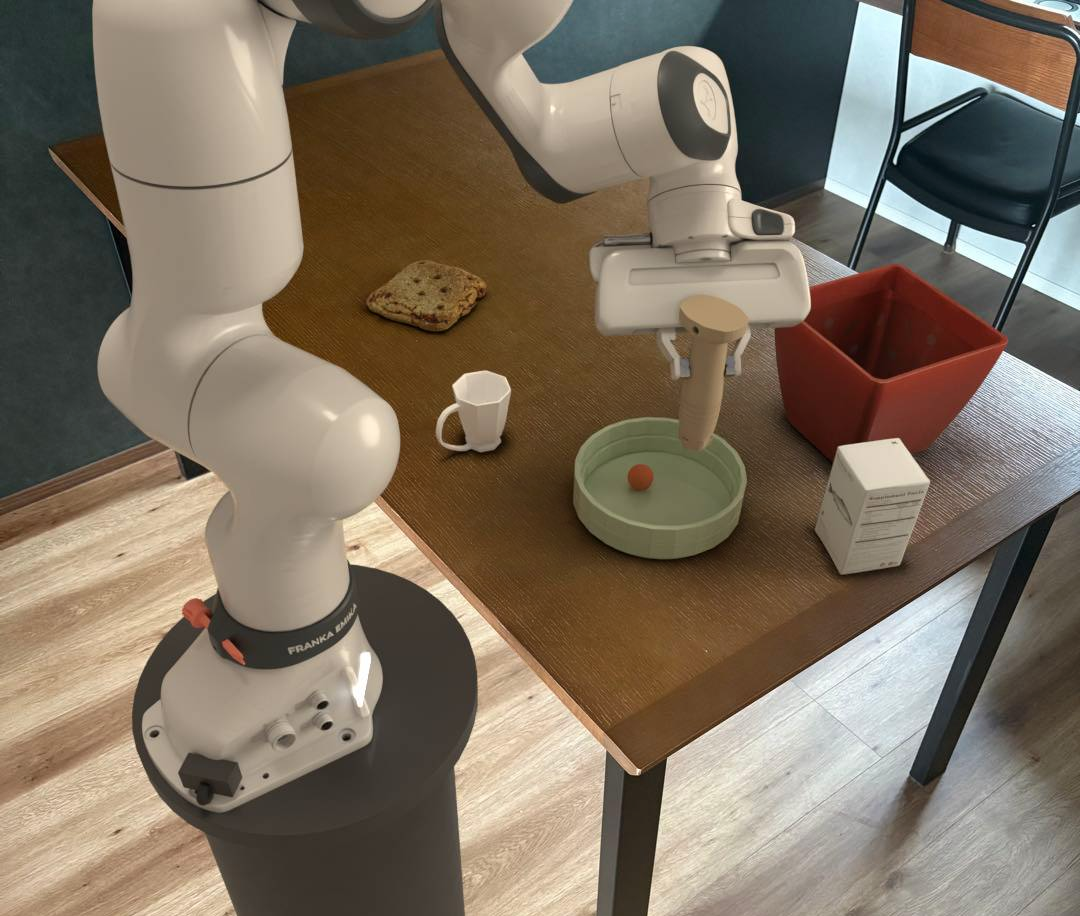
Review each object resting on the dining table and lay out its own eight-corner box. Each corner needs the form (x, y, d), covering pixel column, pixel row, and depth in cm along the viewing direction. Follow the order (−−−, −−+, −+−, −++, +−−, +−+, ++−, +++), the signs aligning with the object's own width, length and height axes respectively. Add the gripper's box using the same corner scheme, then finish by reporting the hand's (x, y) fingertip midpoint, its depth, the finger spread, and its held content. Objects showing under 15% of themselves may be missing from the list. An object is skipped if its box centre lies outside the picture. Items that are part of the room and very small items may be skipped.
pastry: (474, 264, 162) (474, 246, 160) (499, 327, 150) (499, 308, 148) (359, 277, 159) (357, 258, 157) (375, 342, 147) (373, 323, 145)
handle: (686, 418, 111) (704, 289, 100) (734, 447, 107) (759, 317, 97) (654, 437, 108) (669, 307, 98) (702, 468, 105) (724, 337, 94)
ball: (619, 485, 125) (638, 495, 123) (625, 461, 124) (645, 470, 122) (635, 483, 127) (654, 493, 125) (641, 459, 126) (661, 468, 124)
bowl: (661, 589, 115) (665, 556, 111) (538, 498, 125) (539, 465, 121) (774, 507, 124) (781, 474, 121) (652, 429, 134) (655, 396, 131)
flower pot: (867, 373, 143) (899, 259, 132) (969, 456, 131) (1013, 339, 120) (748, 411, 137) (770, 296, 125) (844, 503, 125) (878, 384, 113)
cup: (523, 444, 132) (523, 390, 126) (456, 476, 127) (453, 422, 122) (489, 416, 136) (488, 362, 130) (422, 446, 131) (418, 392, 125)
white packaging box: (812, 530, 122) (835, 443, 113) (873, 522, 123) (901, 435, 114) (838, 577, 116) (864, 490, 108) (902, 567, 118) (933, 480, 109)
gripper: (592, 225, 97) (602, 378, 97) (811, 216, 99) (822, 366, 99) (582, 245, 104) (592, 389, 104) (788, 237, 106) (798, 377, 106)
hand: (706, 377), depth 101 cm, fingers closed on handle, 3 cm apart
